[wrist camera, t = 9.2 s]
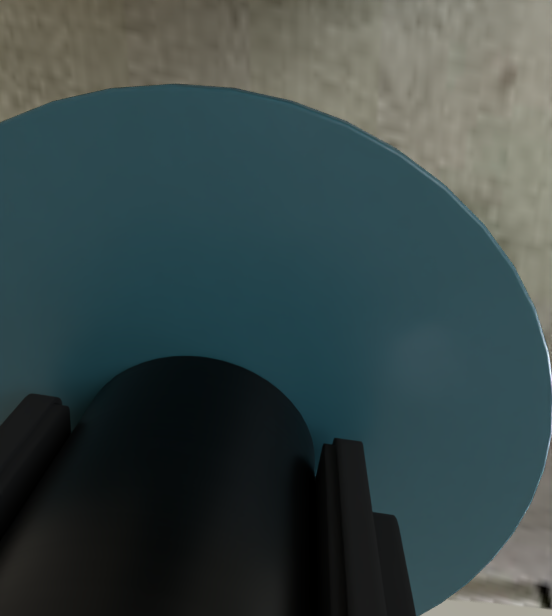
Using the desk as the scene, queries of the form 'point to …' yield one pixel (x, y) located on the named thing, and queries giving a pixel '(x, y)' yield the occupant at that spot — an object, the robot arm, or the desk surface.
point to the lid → (250, 353)
